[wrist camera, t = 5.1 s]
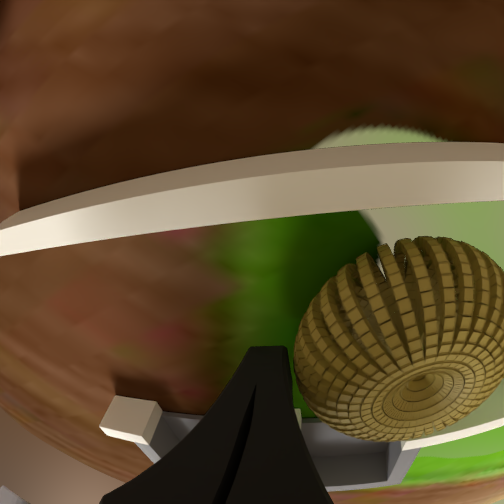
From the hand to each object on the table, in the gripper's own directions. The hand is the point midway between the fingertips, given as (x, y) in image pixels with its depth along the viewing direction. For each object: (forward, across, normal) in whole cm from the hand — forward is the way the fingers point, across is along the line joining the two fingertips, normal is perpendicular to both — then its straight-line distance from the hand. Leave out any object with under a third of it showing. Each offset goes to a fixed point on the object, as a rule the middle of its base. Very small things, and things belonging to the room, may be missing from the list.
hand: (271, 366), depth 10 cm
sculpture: (+2, -5, 0) cm, 5 cm away
